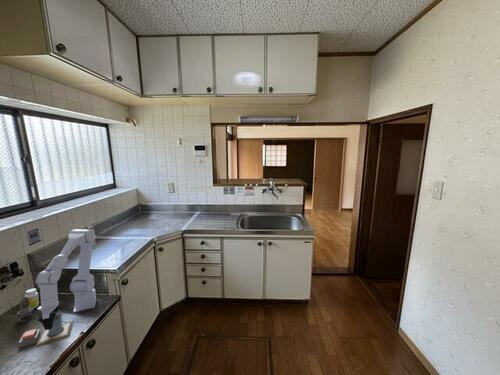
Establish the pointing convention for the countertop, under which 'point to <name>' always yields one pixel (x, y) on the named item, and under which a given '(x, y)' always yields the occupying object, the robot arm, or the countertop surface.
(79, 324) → the countertop surface
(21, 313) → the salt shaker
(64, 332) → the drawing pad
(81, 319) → the countertop surface
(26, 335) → the button
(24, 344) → the button housing
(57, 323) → the grey rectangular block
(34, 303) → the supplement bottle
